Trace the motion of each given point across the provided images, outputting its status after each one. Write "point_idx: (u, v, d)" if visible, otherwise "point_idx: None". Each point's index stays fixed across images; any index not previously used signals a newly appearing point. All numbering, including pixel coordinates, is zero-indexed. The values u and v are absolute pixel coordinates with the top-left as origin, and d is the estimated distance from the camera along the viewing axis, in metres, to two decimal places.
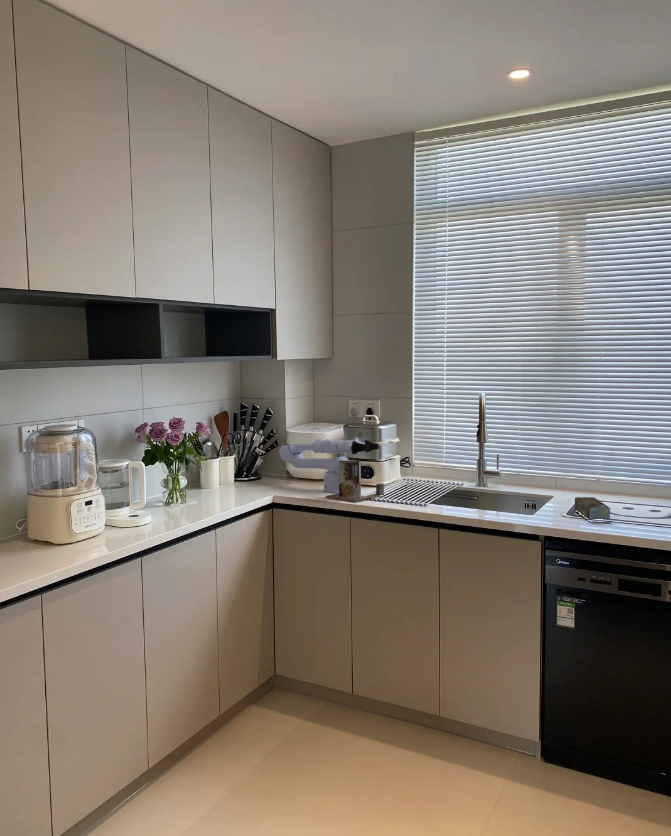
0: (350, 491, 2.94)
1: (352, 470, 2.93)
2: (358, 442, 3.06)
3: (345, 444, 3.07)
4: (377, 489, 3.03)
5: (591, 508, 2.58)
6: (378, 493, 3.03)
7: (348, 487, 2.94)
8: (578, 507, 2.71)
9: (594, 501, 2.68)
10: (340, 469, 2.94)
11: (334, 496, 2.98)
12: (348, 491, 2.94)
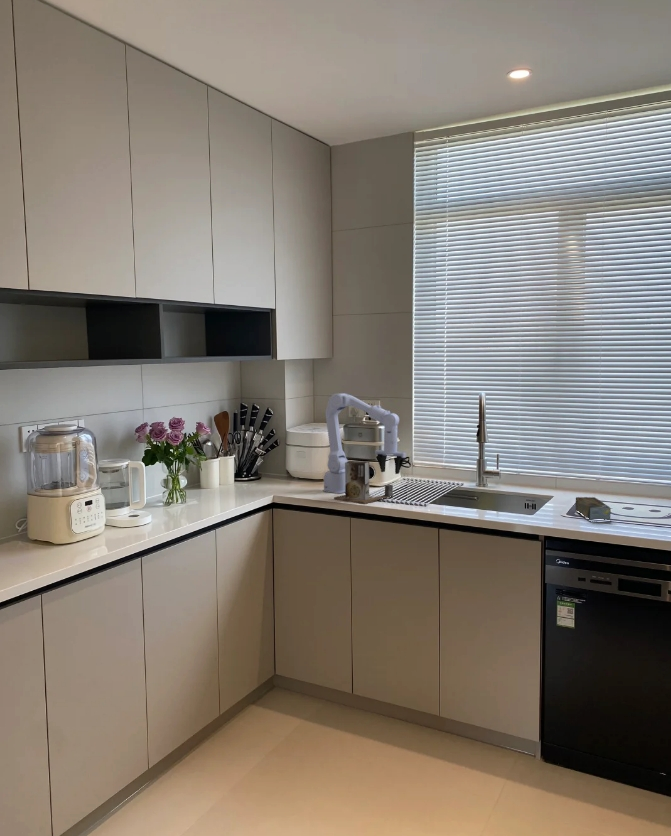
0: (356, 491, 2.92)
1: (358, 470, 2.91)
2: None
3: None
4: (386, 490, 3.01)
5: (592, 508, 2.58)
6: (387, 494, 3.00)
7: (354, 488, 2.92)
8: (579, 507, 2.71)
9: (595, 501, 2.68)
10: (346, 469, 2.93)
11: (343, 497, 2.95)
12: (354, 491, 2.92)
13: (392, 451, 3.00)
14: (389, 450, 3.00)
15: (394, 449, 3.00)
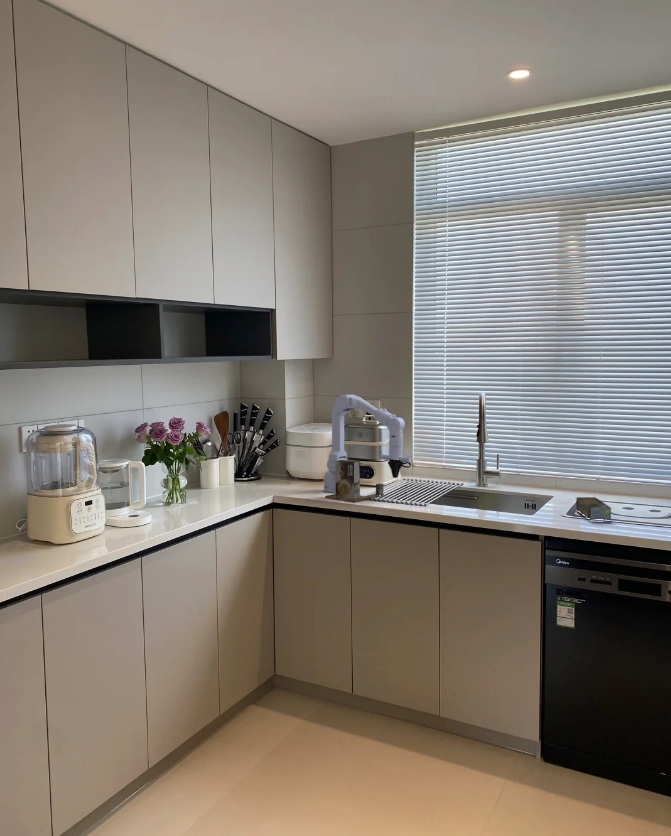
0: (346, 490, 2.95)
1: (347, 469, 2.94)
2: None
3: (402, 447, 2.98)
4: (377, 489, 3.03)
5: (592, 508, 2.58)
6: (378, 493, 3.03)
7: (344, 487, 2.96)
8: (579, 507, 2.71)
9: (595, 501, 2.68)
10: (336, 468, 2.97)
11: (334, 496, 2.98)
12: (343, 490, 2.96)
13: (397, 456, 2.96)
14: (394, 455, 2.96)
15: (399, 454, 2.96)
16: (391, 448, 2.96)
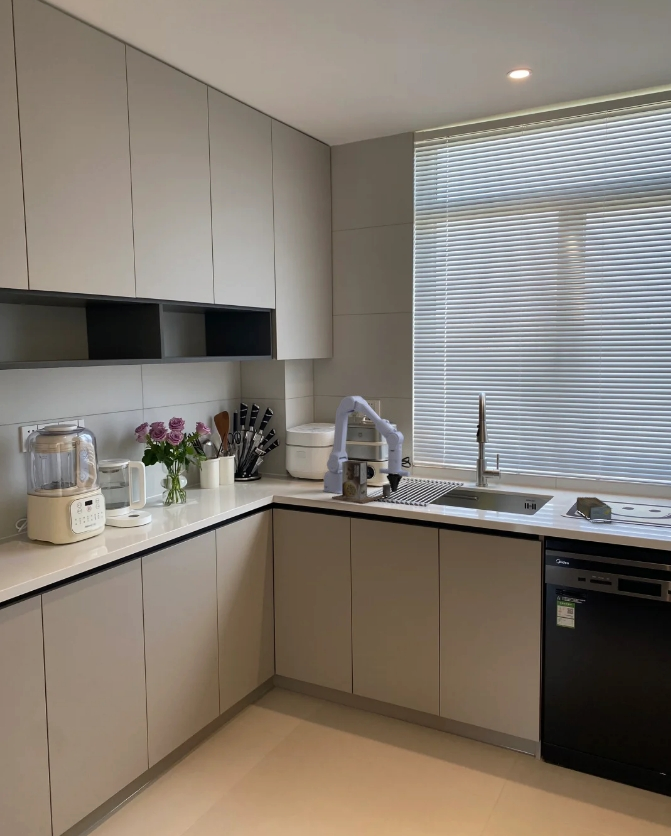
0: (352, 491, 2.93)
1: (354, 470, 2.92)
2: None
3: None
4: (384, 490, 3.01)
5: (592, 508, 2.58)
6: (385, 494, 3.01)
7: (350, 487, 2.94)
8: (580, 507, 2.71)
9: (596, 501, 2.68)
10: (343, 468, 2.95)
11: (340, 497, 2.96)
12: (350, 491, 2.94)
13: (396, 470, 2.96)
14: (393, 469, 2.96)
15: (398, 468, 2.97)
16: (390, 462, 2.97)
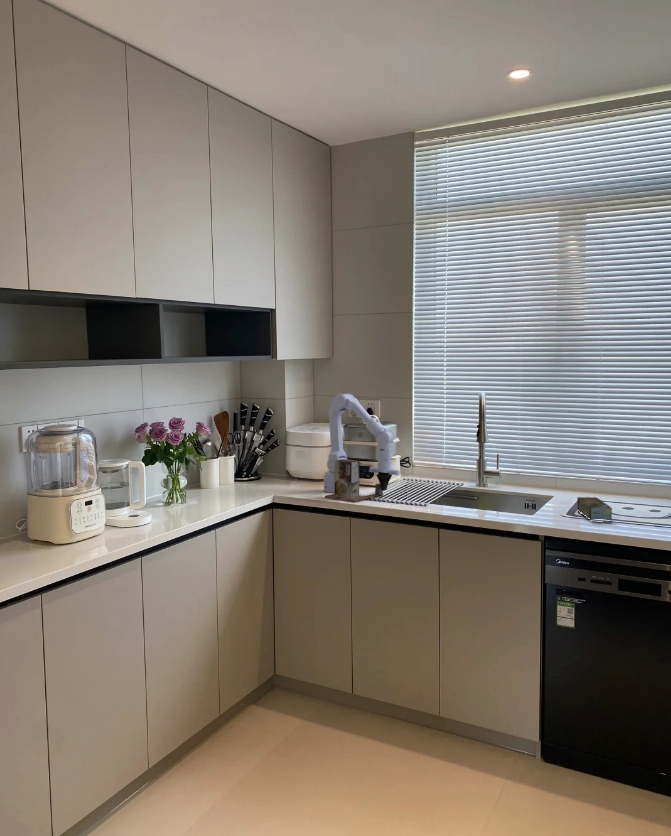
0: (343, 490, 2.96)
1: (345, 469, 2.95)
2: None
3: None
4: (376, 489, 3.04)
5: (593, 508, 2.58)
6: (377, 492, 3.03)
7: (342, 486, 2.97)
8: (580, 507, 2.71)
9: (596, 501, 2.68)
10: (336, 467, 2.98)
11: (333, 496, 2.98)
12: (341, 489, 2.97)
13: (386, 469, 3.00)
14: (383, 468, 3.00)
15: (388, 467, 3.00)
16: (380, 461, 3.00)
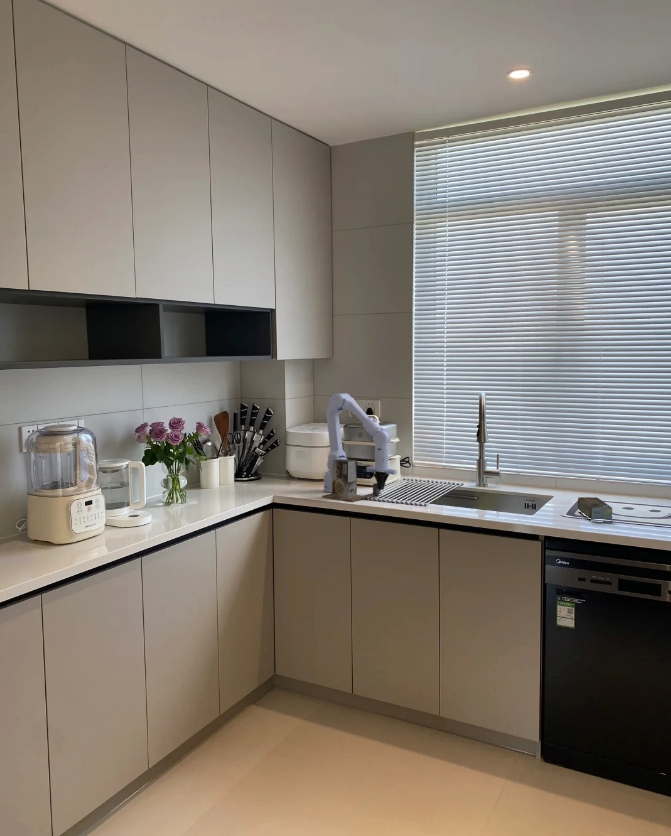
0: (341, 489, 2.97)
1: (342, 468, 2.96)
2: None
3: None
4: (374, 489, 3.04)
5: (593, 508, 2.58)
6: (375, 492, 3.04)
7: (339, 485, 2.98)
8: (581, 507, 2.71)
9: (597, 501, 2.68)
10: (333, 467, 3.00)
11: (331, 496, 2.99)
12: (339, 489, 2.98)
13: (383, 468, 3.00)
14: (380, 467, 3.01)
15: (385, 466, 3.01)
16: (377, 461, 3.01)
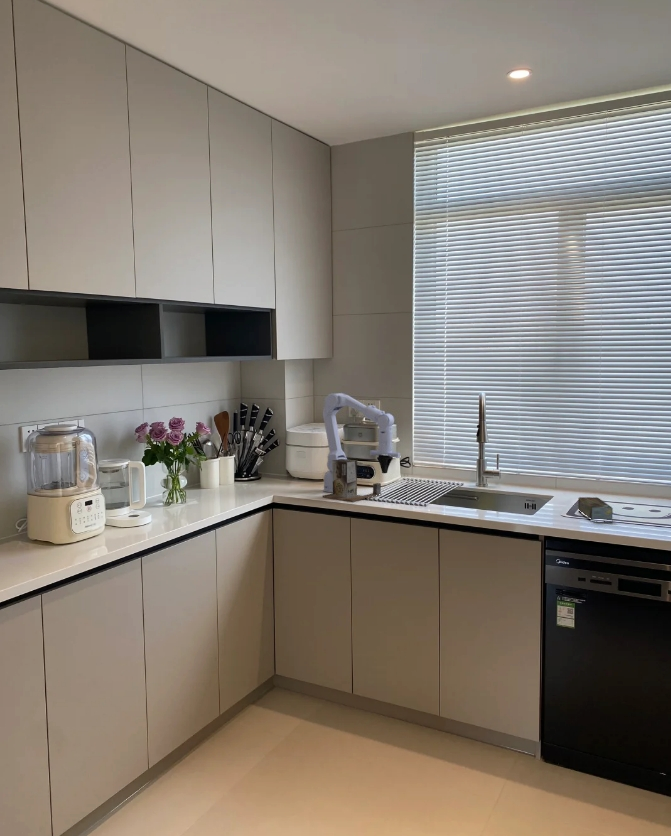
0: (340, 489, 2.97)
1: (342, 469, 2.96)
2: None
3: (391, 443, 3.01)
4: (374, 489, 3.04)
5: (593, 508, 2.58)
6: (375, 492, 3.04)
7: (339, 486, 2.98)
8: (581, 507, 2.71)
9: (597, 501, 2.68)
10: (333, 467, 3.00)
11: (331, 496, 2.99)
12: (338, 489, 2.98)
13: (386, 451, 2.99)
14: (383, 450, 2.99)
15: (389, 449, 2.99)
16: (380, 444, 3.00)
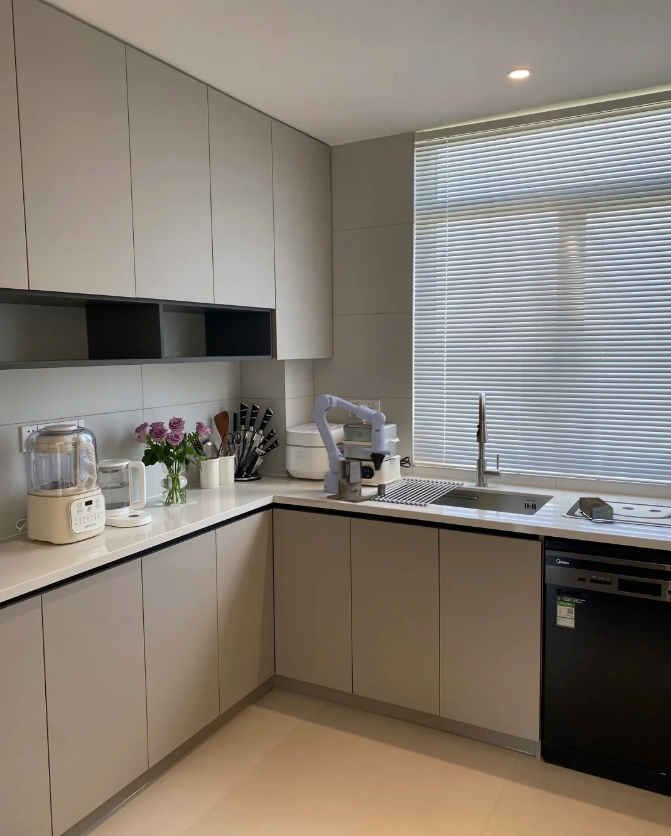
0: (344, 489, 2.97)
1: (346, 469, 2.96)
2: None
3: (384, 441, 3.08)
4: (378, 489, 3.03)
5: (594, 508, 2.58)
6: (379, 493, 3.03)
7: (343, 486, 2.97)
8: (582, 507, 2.71)
9: (598, 501, 2.68)
10: (339, 467, 3.00)
11: (335, 496, 2.97)
12: (343, 489, 2.97)
13: (379, 449, 3.06)
14: (376, 448, 3.06)
15: (381, 447, 3.06)
16: (373, 442, 3.07)
